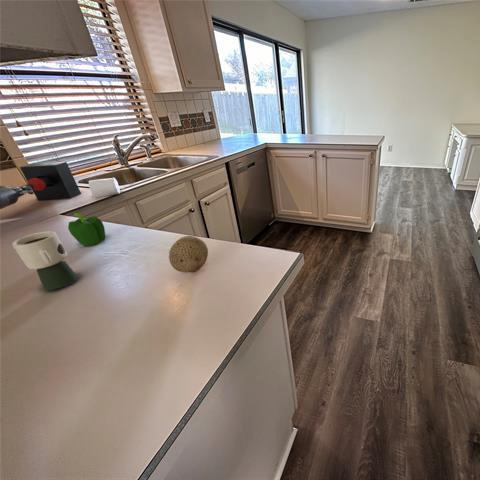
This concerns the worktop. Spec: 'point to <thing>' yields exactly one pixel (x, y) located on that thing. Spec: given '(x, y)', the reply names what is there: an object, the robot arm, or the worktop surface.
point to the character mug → (46, 259)
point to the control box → (52, 180)
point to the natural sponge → (188, 254)
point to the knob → (39, 183)
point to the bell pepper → (87, 230)
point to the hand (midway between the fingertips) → (31, 186)
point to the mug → (104, 187)
